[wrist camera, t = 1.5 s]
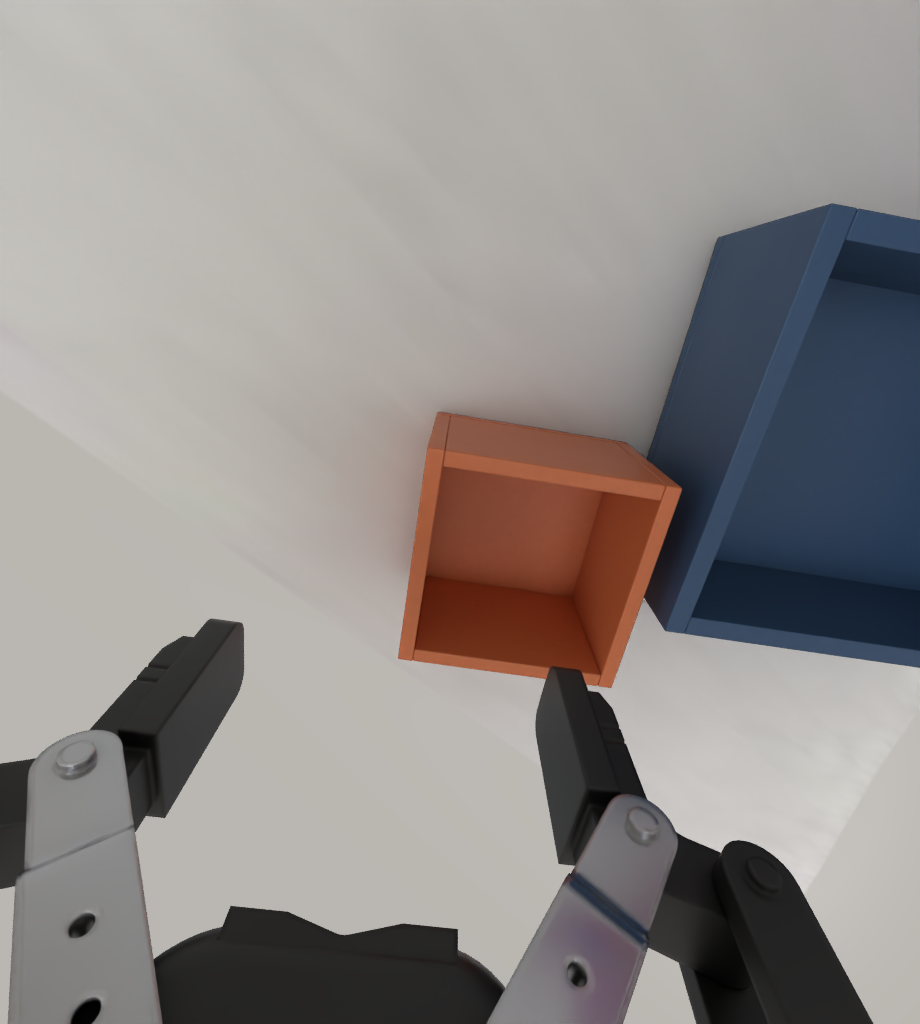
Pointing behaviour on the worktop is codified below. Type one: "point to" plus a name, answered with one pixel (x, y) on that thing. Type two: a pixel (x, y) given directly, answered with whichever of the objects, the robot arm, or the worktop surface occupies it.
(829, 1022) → the robot arm
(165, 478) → the worktop surface
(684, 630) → the big bin
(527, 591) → the small bin
